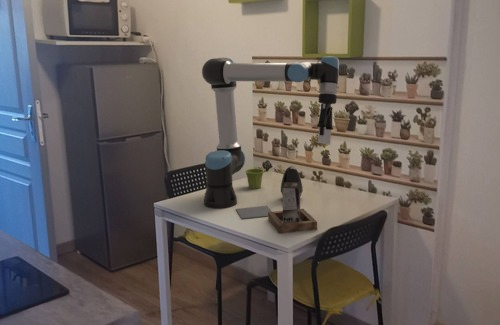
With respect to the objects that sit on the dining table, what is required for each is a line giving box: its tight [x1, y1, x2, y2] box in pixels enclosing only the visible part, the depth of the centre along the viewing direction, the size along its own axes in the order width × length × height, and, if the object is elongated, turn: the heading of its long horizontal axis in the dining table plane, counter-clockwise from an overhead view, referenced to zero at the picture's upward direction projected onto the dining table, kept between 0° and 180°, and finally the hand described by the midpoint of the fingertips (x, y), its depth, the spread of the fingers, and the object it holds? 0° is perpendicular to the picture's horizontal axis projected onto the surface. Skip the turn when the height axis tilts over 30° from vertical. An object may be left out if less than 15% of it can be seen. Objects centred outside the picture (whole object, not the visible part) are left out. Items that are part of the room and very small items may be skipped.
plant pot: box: [244, 168, 265, 190], centre depth 250 cm, size 9×9×9 cm
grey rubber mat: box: [235, 205, 273, 220], centre depth 211 cm, size 14×13×1 cm
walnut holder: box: [267, 208, 318, 234], centre depth 196 cm, size 15×17×3 cm
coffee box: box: [282, 182, 301, 224], centre depth 195 cm, size 9×6×16 cm
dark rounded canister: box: [280, 165, 304, 197], centre depth 228 cm, size 10×10×15 cm
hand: (324, 144), depth 211 cm, fingers open, 13 cm apart
